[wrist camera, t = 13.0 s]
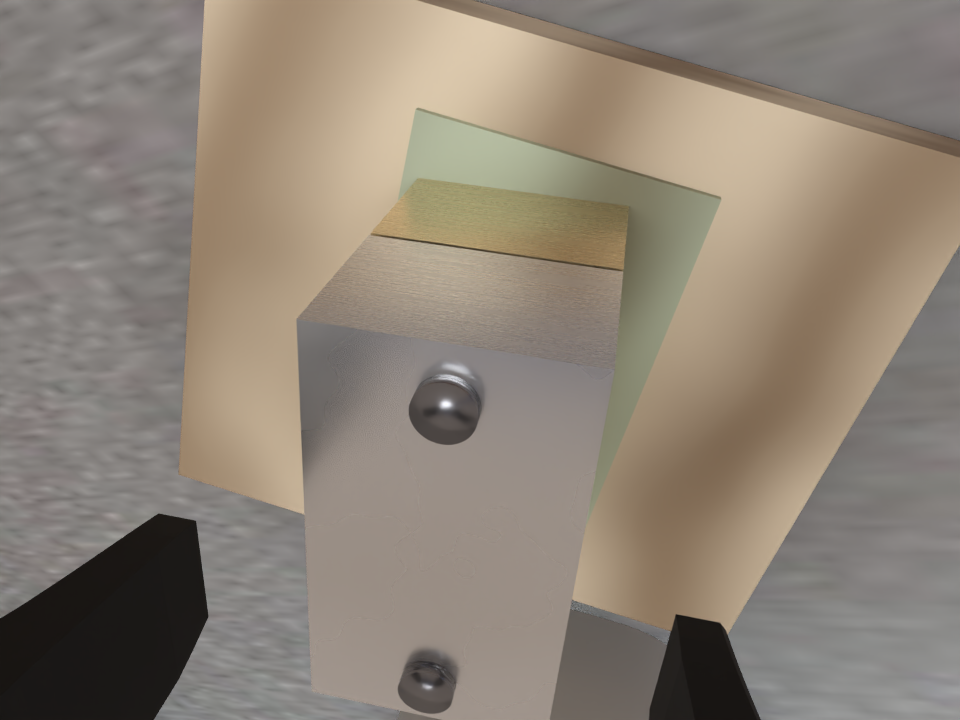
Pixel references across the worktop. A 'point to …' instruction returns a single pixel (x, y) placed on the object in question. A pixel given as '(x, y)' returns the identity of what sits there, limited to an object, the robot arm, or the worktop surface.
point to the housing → (456, 446)
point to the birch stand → (647, 263)
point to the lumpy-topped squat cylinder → (601, 672)
